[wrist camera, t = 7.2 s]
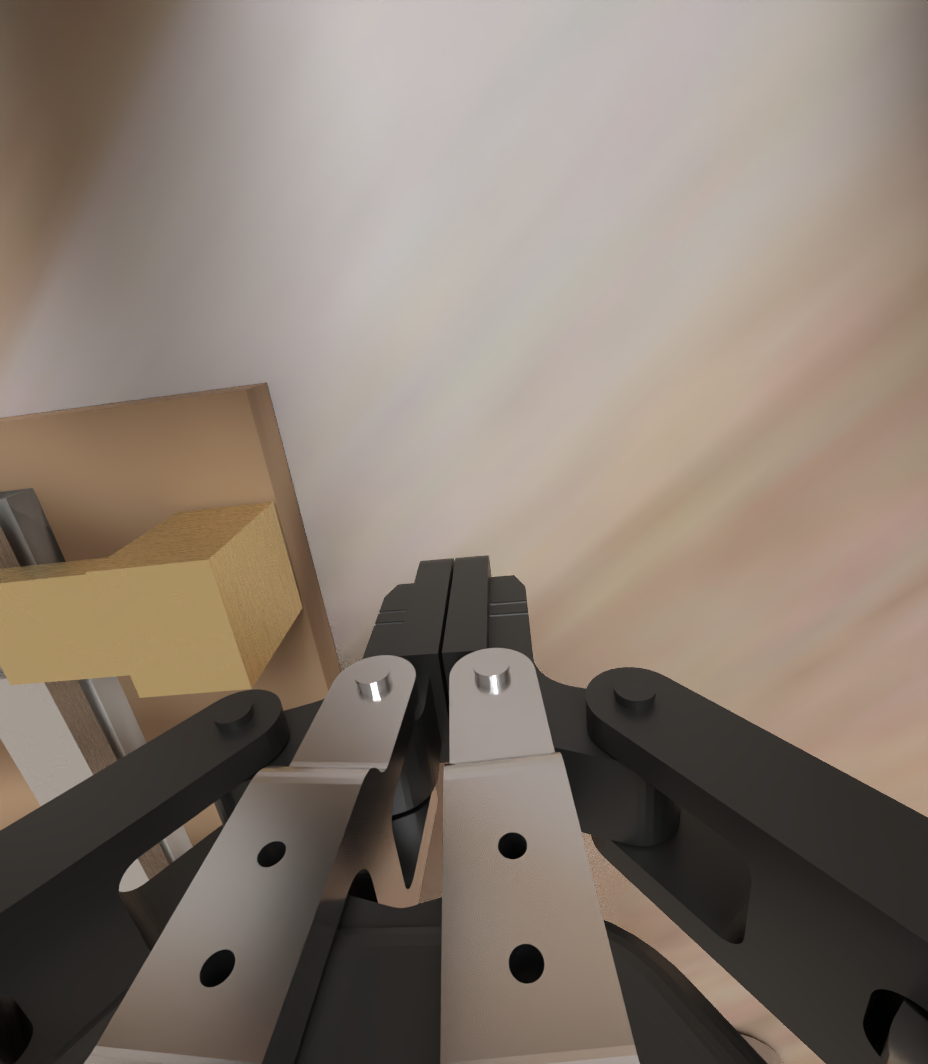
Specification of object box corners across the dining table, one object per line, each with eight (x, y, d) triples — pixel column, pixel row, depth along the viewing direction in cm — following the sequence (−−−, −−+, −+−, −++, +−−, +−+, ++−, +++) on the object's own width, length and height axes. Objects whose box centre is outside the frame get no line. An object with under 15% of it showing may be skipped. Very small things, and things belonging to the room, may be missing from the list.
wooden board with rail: (402, 911, 25) (386, 1023, 21) (64, 924, 27) (-10, 1031, 23) (266, 382, 16) (195, 407, 12) (-228, 448, 18) (-432, 488, 14)
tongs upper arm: (213, 952, 23) (201, 979, 22) (159, 953, 23) (145, 981, 22) (-10, 505, 15) (-43, 518, 14) (-89, 514, 15) (-126, 528, 14)
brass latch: (302, 608, 17) (251, 689, 14) (98, 626, 18) (-3, 709, 14) (273, 501, 16) (208, 559, 12) (53, 526, 17) (-71, 588, 13)
